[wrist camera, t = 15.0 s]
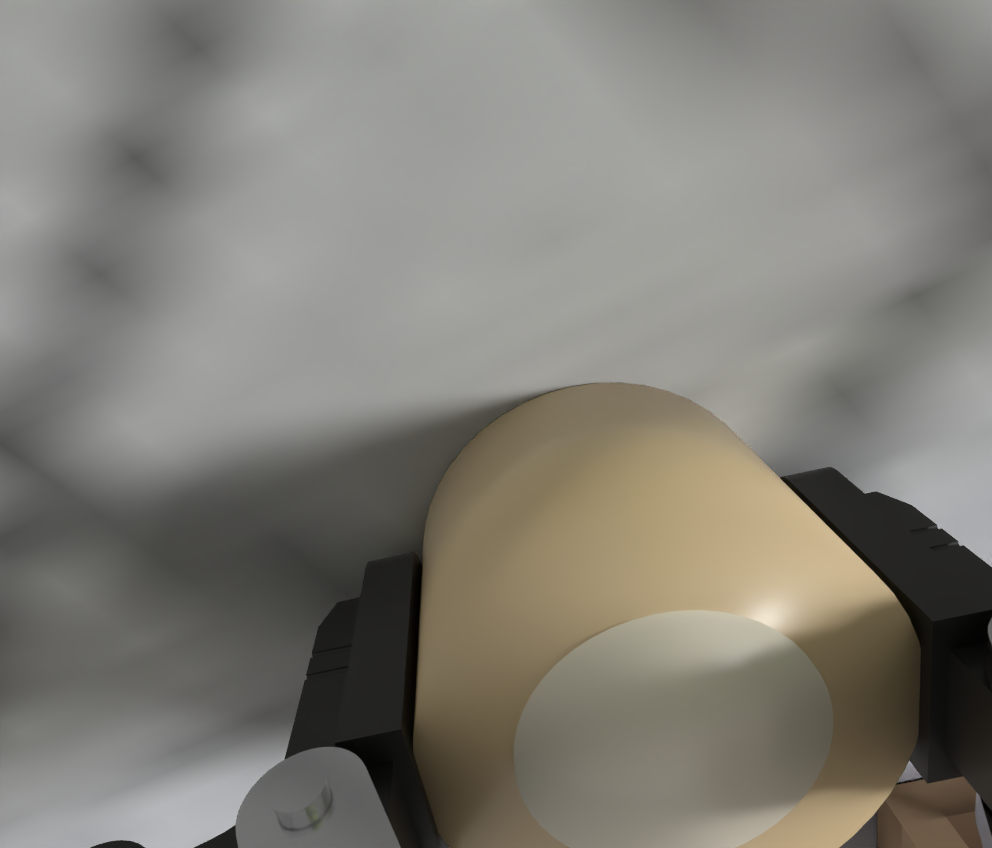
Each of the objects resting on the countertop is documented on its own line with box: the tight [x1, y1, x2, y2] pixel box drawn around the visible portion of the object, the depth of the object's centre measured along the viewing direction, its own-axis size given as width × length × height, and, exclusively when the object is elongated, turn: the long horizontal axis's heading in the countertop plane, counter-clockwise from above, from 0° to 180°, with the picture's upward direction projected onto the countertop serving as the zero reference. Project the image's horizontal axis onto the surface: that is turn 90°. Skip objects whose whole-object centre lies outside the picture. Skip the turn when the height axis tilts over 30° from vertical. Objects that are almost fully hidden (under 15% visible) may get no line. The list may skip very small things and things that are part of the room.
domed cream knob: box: [413, 383, 921, 848], centre depth 10 cm, size 6×6×4 cm
